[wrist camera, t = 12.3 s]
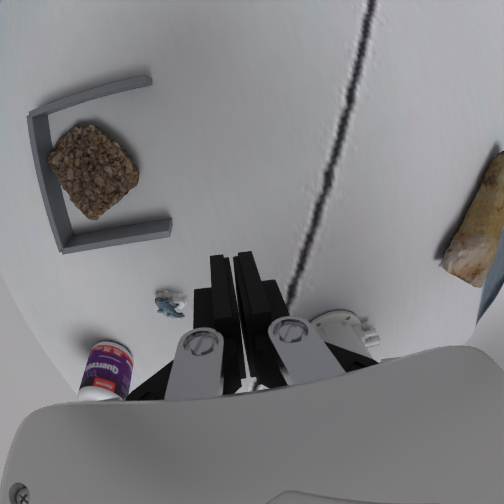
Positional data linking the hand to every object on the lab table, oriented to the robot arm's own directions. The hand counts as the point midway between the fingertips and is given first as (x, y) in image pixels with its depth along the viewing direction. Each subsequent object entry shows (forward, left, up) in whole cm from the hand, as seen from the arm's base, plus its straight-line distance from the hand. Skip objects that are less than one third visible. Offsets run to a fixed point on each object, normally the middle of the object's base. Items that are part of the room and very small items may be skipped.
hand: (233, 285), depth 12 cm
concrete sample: (+14, -3, -26) cm, 30 cm away
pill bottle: (+22, +29, -26) cm, 45 cm away
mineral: (-47, +10, -26) cm, 55 cm away
